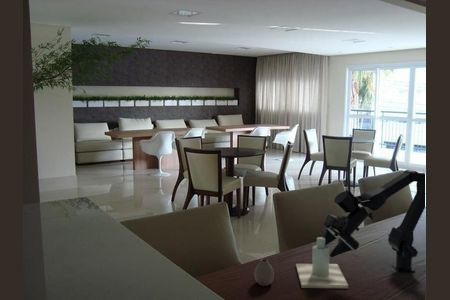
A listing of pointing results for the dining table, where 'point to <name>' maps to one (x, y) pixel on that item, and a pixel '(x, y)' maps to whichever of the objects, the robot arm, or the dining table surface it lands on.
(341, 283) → the birch board
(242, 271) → the dining table surface
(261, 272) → the vase
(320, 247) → the oil bottle
